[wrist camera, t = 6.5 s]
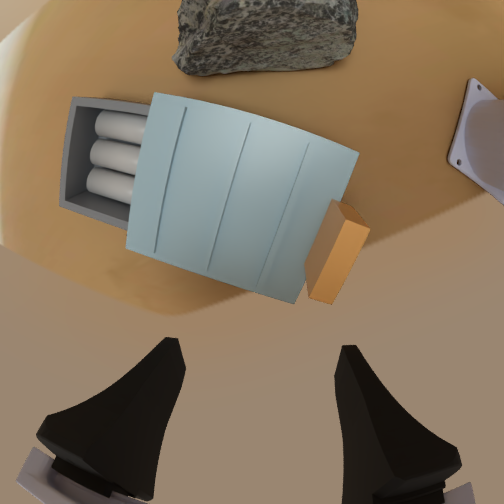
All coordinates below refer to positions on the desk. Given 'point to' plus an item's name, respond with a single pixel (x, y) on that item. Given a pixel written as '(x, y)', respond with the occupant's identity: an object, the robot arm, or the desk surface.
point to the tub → (102, 157)
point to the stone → (263, 35)
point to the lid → (244, 200)
